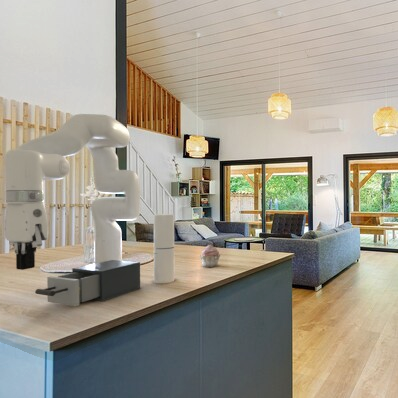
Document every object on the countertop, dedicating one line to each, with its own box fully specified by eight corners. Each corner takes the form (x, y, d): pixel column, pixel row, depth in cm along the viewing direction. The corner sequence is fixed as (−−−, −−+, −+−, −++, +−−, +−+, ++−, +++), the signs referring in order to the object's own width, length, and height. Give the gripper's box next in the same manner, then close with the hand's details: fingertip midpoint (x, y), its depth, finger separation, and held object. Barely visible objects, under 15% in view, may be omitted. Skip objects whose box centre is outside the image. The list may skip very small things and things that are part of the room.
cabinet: (102, 301, 98) (101, 271, 98) (72, 297, 102) (72, 268, 102) (140, 288, 112) (140, 262, 111) (112, 285, 116) (112, 259, 116)
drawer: (57, 312, 86) (57, 284, 86) (28, 307, 90) (28, 281, 90) (116, 292, 103) (116, 270, 103) (90, 289, 107) (90, 267, 107)
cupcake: (217, 268, 143) (217, 245, 143) (196, 268, 143) (196, 245, 143) (222, 263, 152) (222, 242, 152) (203, 263, 152) (203, 242, 152)
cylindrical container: (167, 283, 117) (166, 215, 117) (149, 282, 119) (149, 214, 118) (178, 278, 124) (178, 214, 124) (161, 278, 126) (161, 213, 125)
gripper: (60, 197, 85) (60, 267, 85) (22, 197, 90) (22, 263, 90) (28, 198, 78) (28, 274, 78) (-12, 198, 83) (-11, 269, 83)
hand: (25, 268), depth 84 cm, fingers closed
